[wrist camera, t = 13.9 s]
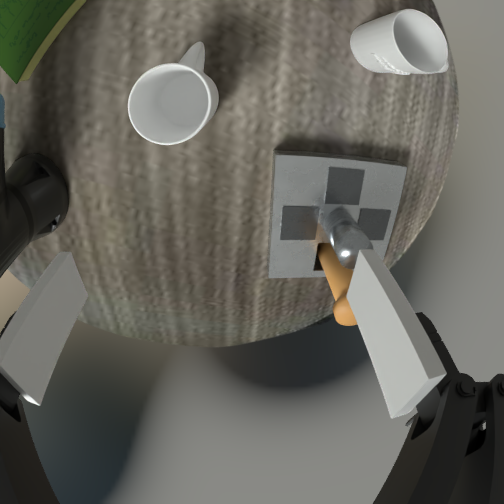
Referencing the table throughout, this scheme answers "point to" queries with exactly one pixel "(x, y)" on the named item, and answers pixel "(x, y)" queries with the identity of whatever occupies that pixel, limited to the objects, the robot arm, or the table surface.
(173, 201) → the table surface
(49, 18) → the hardcover book
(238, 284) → the table surface
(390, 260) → the table surface
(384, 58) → the mug
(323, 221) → the checkered knob plate
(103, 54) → the table surface
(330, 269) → the tan wooden pestle
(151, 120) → the mug
